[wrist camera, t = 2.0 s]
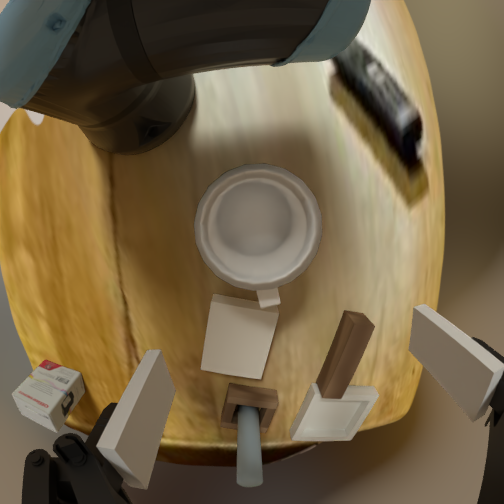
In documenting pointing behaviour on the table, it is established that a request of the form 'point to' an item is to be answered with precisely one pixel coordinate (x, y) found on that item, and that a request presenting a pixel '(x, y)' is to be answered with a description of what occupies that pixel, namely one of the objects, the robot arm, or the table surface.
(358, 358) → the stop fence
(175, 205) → the table surface
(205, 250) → the mug
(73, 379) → the ink box
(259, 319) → the white flat block
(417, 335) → the robot arm
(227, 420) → the socket block
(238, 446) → the dowel
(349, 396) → the tray
